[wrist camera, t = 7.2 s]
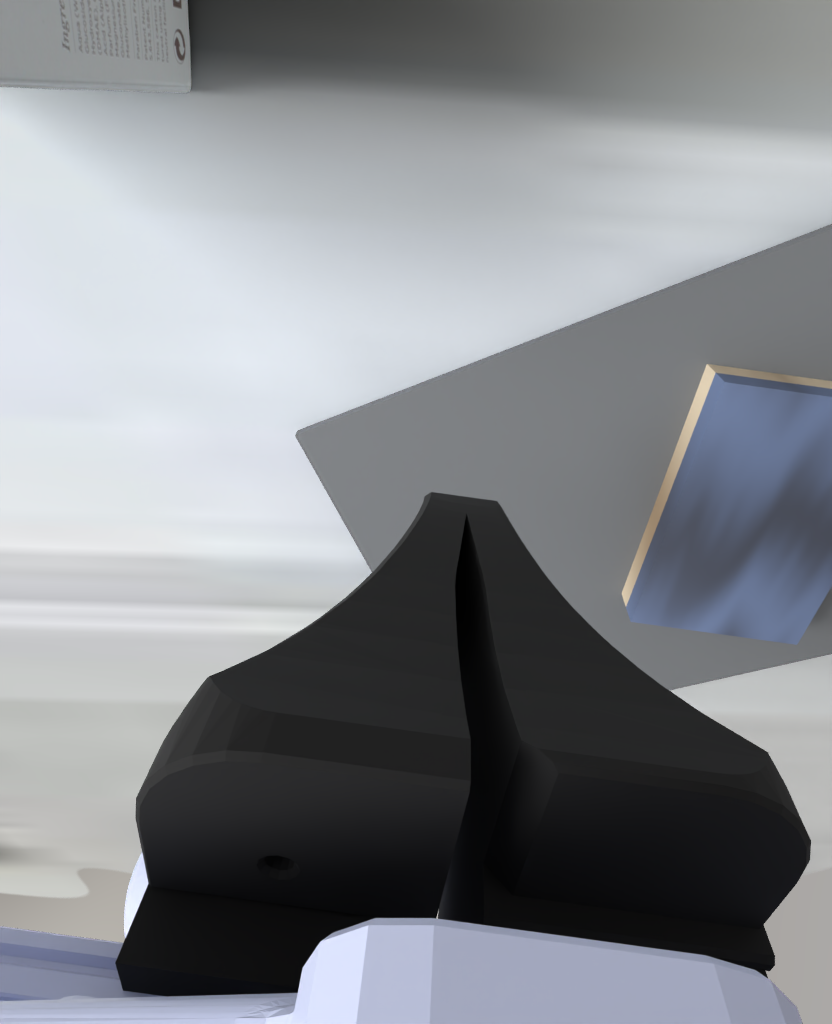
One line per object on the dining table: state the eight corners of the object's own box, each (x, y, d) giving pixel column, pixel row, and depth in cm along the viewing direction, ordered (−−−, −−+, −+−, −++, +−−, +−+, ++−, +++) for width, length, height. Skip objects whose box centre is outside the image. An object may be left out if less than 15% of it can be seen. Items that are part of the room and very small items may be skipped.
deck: (621, 593, 24) (778, 615, 24) (630, 621, 23) (797, 644, 23) (707, 363, 19) (902, 391, 19) (724, 382, 18) (935, 411, 18)
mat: (464, 728, 29) (464, 736, 29) (297, 430, 22) (295, 435, 22) (961, 616, 24) (968, 623, 24) (960, 174, 17) (971, 175, 16)
